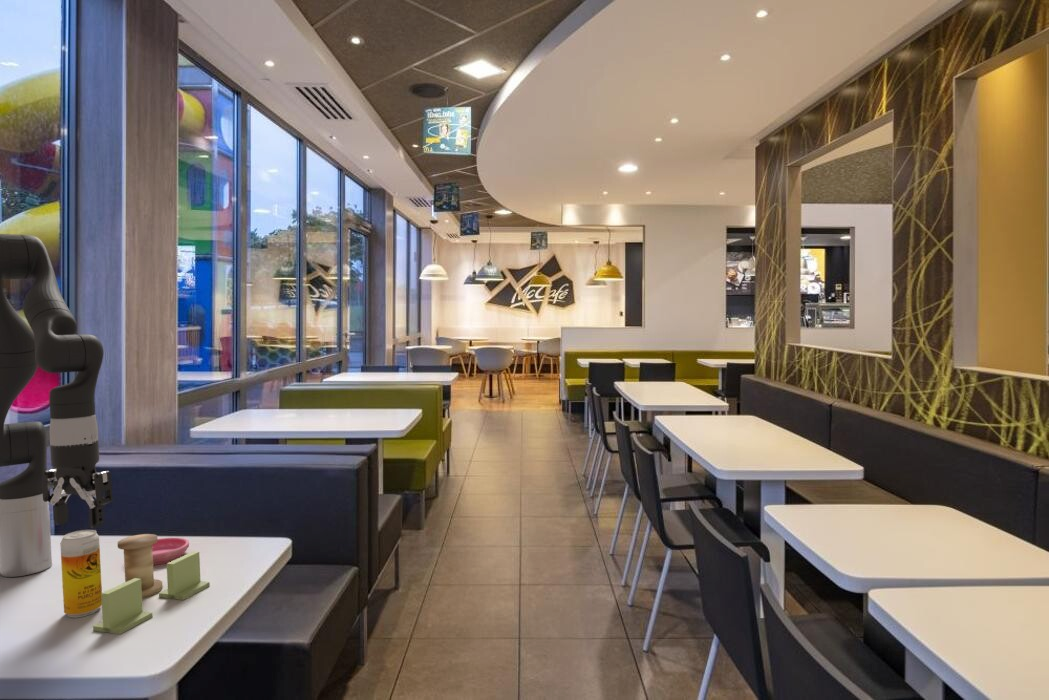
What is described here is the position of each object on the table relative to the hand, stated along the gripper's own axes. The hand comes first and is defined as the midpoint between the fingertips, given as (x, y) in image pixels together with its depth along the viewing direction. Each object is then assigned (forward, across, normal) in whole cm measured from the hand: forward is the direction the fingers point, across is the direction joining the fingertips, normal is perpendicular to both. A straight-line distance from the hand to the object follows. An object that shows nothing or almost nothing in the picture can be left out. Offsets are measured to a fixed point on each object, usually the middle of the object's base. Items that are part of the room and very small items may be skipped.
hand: (79, 525), depth 124 cm
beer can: (+17, 0, 0) cm, 17 cm away
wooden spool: (+17, +3, +10) cm, 20 cm away
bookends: (+17, +12, +5) cm, 21 cm away
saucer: (+17, -9, +27) cm, 33 cm away
